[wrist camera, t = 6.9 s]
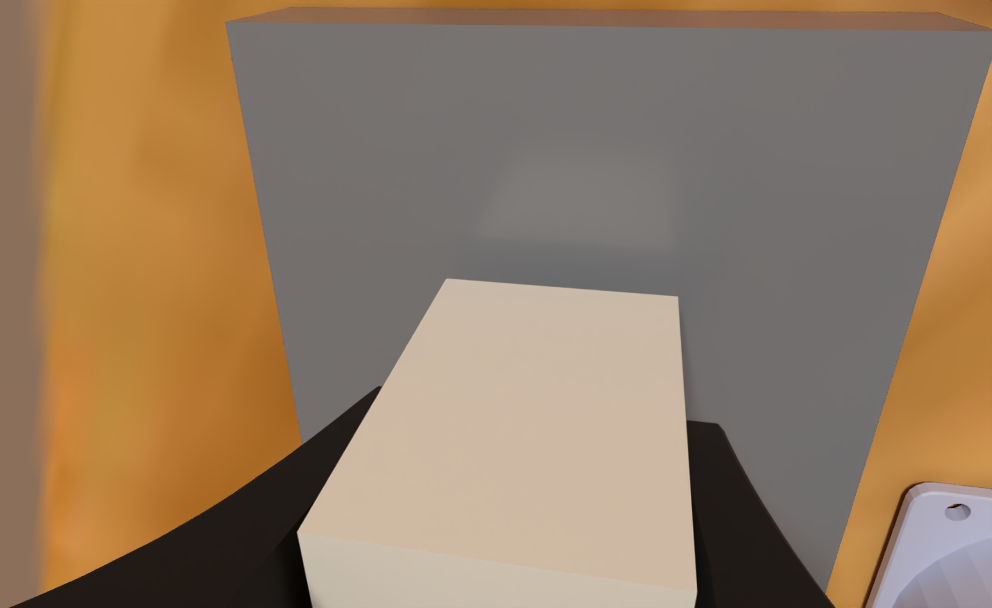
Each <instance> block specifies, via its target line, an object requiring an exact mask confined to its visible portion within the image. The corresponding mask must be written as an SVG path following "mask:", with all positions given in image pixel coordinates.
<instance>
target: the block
mask: <svg viewBox="0 0 992 608" xmlns="http://www.w3.org/2000/svg"><path fill="white" fill-rule="evenodd" d="M297 534H298V539H299V543H300V548H301V553H302V558H303V563H304V568H305V573H306V578H307V583H308V588H309V593H310V597H311V602H312V607H313V608H694V607H695V601H696V596H697V582H696V567H695V552H694V536H693V521H692V506H691V490H690V475H689V459H688V444H687V429H686V413H685V398H684V383H683V367H682V352H681V337H680V321H679V306H678V296H665V295H652V294H639V293H626V292H614V291H601V290H588V289H575V288H562V287H549V286H536V285H524V284H511V283H498V282H485V281H472V280H459V279H446V280H445V282H444V283H443V285H442V287H441V288H440V290H439V292H438V293H437V295H436V297H435V299H434V300H433V302H432V304H431V305H430V307H429V309H428V310H427V312H426V314H425V316H424V317H423V319H422V321H421V322H420V324H419V326H418V327H417V329H416V331H415V333H414V334H413V336H412V338H411V339H410V341H409V343H408V344H407V346H406V348H405V350H404V351H403V353H402V355H401V356H400V358H399V360H398V361H397V363H396V365H395V367H394V368H393V370H392V372H391V373H390V375H389V377H388V378H387V380H386V382H385V384H384V385H383V387H382V389H381V390H380V392H379V394H378V395H377V397H376V399H375V401H374V402H373V404H372V406H371V407H370V409H369V411H368V412H367V414H366V416H365V417H364V419H363V421H362V423H361V424H360V426H359V428H358V429H357V431H356V433H355V434H354V436H353V438H352V440H351V441H350V443H349V445H348V446H347V448H346V450H345V451H344V453H343V455H342V457H341V458H340V460H339V462H338V463H337V465H336V467H335V468H334V470H333V472H332V474H331V475H330V477H329V479H328V480H327V482H326V484H325V485H324V487H323V489H322V491H321V492H320V494H319V496H318V497H317V499H316V501H315V502H314V504H313V506H312V508H311V509H310V511H309V513H308V514H307V516H306V518H305V519H304V521H303V523H302V525H301V526H300V528H299V530H298V531H297Z"/></svg>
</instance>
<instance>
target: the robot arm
mask: <svg viewBox="0 0 992 608" xmlns="http://www.w3.org/2000/svg"><path fill="white" fill-rule="evenodd" d="M382 387H383V386H378V387H376V388H375V389H374V390H372V391H371V392H369V393H368V394H367V395H366V396H364V397H363V398H362V399H360V400H359V401H358V402H357V403H355V404H354V405H353V406H352V407H350V408H349V409H348V410H346V411H345V412H344V413H343V414H341V415H340V416H339V417H338V418H336V419H335V420H334V421H333V422H331V423H330V424H329V425H327V426H326V427H325V428H324V429H322V430H321V431H320V432H318V433H317V434H316V435H314V436H313V437H312V438H310V439H309V440H308V441H307V442H305V443H304V444H303V445H301V446H300V447H299V448H297V449H296V450H295V451H293V452H292V453H291V454H289V455H288V456H287V457H285V458H284V459H282V460H281V461H280V462H278V463H277V464H275V465H274V466H272V467H271V468H269V469H268V470H267V471H265V472H264V473H262V474H261V475H259V476H258V477H256V478H255V479H254V480H252V481H251V482H249V483H248V484H246V485H245V486H243V487H242V488H240V489H239V490H238V491H236V492H235V493H233V494H232V495H230V496H229V497H227V498H226V499H224V500H222V501H221V502H219V503H218V504H216V505H214V506H213V507H211V508H210V509H208V510H206V511H205V512H203V513H201V514H200V515H198V516H196V517H195V518H193V519H191V520H189V521H188V522H186V523H184V524H182V525H181V526H179V527H177V528H175V529H174V530H172V531H170V532H168V533H167V534H165V535H163V536H161V537H159V538H158V539H156V540H154V541H152V542H150V543H148V544H146V545H144V546H142V547H140V548H138V549H136V550H134V551H132V552H130V553H128V554H126V555H124V556H122V557H120V558H118V559H116V560H114V561H112V562H110V563H108V564H106V565H104V566H102V567H100V568H98V569H96V570H94V571H92V572H90V573H88V574H86V575H84V576H82V577H79V578H77V579H75V580H73V581H71V582H68V583H66V584H64V585H62V586H59V587H57V588H55V589H53V590H50V591H48V592H46V593H43V594H41V595H39V596H37V597H34V598H32V599H29V600H27V601H25V602H22V603H20V604H17V605H15V606H12V607H10V608H313V607H312V602H311V597H310V593H309V588H308V583H307V578H306V573H305V568H304V563H303V558H302V553H301V548H300V543H299V539H298V534H297V531H298V530H299V528H300V526H301V525H302V523H303V521H304V519H305V518H306V516H307V514H308V513H309V511H310V509H311V508H312V506H313V504H314V502H315V501H316V499H317V497H318V496H319V494H320V492H321V491H322V489H323V487H324V485H325V484H326V482H327V480H328V479H329V477H330V475H331V474H332V472H333V470H334V468H335V467H336V465H337V463H338V462H339V460H340V458H341V457H342V455H343V453H344V451H345V450H346V448H347V446H348V445H349V443H350V441H351V440H352V438H353V436H354V434H355V433H356V431H357V429H358V428H359V426H360V424H361V423H362V421H363V419H364V417H365V416H366V414H367V412H368V411H369V409H370V407H371V406H372V404H373V402H374V401H375V399H376V397H377V395H378V394H379V392H380V390H381V389H382ZM686 429H687V444H688V459H689V475H690V490H691V506H692V521H693V536H694V552H695V567H696V582H697V596H696V601H695V607H694V608H835V607H834V605H833V604H832V603H831V601H830V600H829V599H828V597H827V596H826V595H825V593H824V592H823V591H822V589H821V588H820V587H819V585H818V584H817V583H816V581H815V580H814V578H813V577H812V576H811V574H810V573H809V572H808V570H807V569H806V567H805V566H804V565H803V563H802V562H801V560H800V559H799V558H798V556H797V555H796V553H795V552H794V550H793V549H792V547H791V546H790V544H789V543H788V541H787V540H786V538H785V537H784V535H783V534H782V532H781V531H780V529H779V527H778V526H777V524H776V523H775V521H774V520H773V518H772V516H771V515H770V513H769V512H768V510H767V509H766V507H765V505H764V504H763V502H762V501H761V499H760V497H759V496H758V494H757V492H756V490H755V489H754V487H753V485H752V483H751V482H750V480H749V478H748V476H747V475H746V473H745V471H744V469H743V467H742V466H741V464H740V462H739V460H738V458H737V456H736V454H735V452H734V450H733V448H732V446H731V444H730V442H729V440H728V438H727V436H726V434H725V431H724V430H723V429H722V428H721V426H720V425H719V424H718V423H709V422H700V421H691V420H686ZM953 504H961V506H958V507H956V508H947V507H948V506H951V505H953ZM866 608H992V489H986V488H978V487H969V486H961V485H952V484H944V483H935V482H930V483H922V484H919V485H916V486H914V487H913V488H911V489H910V490H909V491H908V493H907V494H906V496H905V498H904V501H903V504H902V507H901V510H900V512H899V515H898V518H897V521H896V524H895V526H894V529H893V532H892V535H891V538H890V540H889V543H888V546H887V549H886V552H885V554H884V557H883V560H882V563H881V566H880V568H879V571H878V574H877V577H876V580H875V582H874V585H873V588H872V591H871V594H870V596H869V599H868V602H867V605H866Z"/></svg>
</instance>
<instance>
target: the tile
mask: <svg viewBox="0 0 992 608" xmlns="http://www.w3.org/2000/svg"><path fill="white" fill-rule="evenodd" d="M225 23H226V29H227V34H228V40H229V45H230V51H231V56H232V62H233V67H234V73H235V78H236V83H237V89H238V94H239V100H240V105H241V111H242V116H243V122H244V127H245V133H246V138H247V144H248V149H249V155H250V160H251V166H252V171H253V177H254V182H255V188H256V193H257V199H258V204H259V210H260V215H261V221H262V226H263V231H264V237H265V242H266V248H267V253H268V259H269V264H270V270H271V275H272V281H273V286H274V292H275V297H276V303H277V308H278V314H279V319H280V325H281V330H282V336H283V341H284V347H285V352H286V358H287V363H288V368H289V374H290V379H291V385H292V390H293V396H294V401H295V407H296V412H297V418H298V423H299V429H300V434H301V440H302V445H303V444H304V443H305V442H307V441H308V440H309V439H310V438H312V437H313V436H314V435H316V434H317V433H318V432H320V431H321V430H322V429H324V428H325V427H326V426H327V425H329V424H330V423H331V422H333V421H334V420H335V419H336V418H338V417H339V416H340V415H341V414H343V413H344V412H345V411H346V410H348V409H349V408H350V407H352V406H353V405H354V404H355V403H357V402H358V401H359V400H360V399H362V398H363V397H364V396H366V395H367V394H368V393H369V392H371V391H372V390H374V389H375V388H376V387H378V386H383V385H384V384H385V382H386V380H387V378H388V377H389V375H390V373H391V372H392V370H393V368H394V367H395V365H396V363H397V361H398V360H399V358H400V356H401V355H402V353H403V351H404V350H405V348H406V346H407V344H408V343H409V341H410V339H411V338H412V336H413V334H414V333H415V331H416V329H417V327H418V326H419V324H420V322H421V321H422V319H423V317H424V316H425V314H426V312H427V310H428V309H429V307H430V305H431V304H432V302H433V300H434V299H435V297H436V295H437V293H438V292H439V290H440V288H441V287H442V285H443V283H444V282H445V280H446V279H459V280H472V281H485V282H498V283H511V284H524V285H536V286H549V287H562V288H575V289H588V290H601V291H614V292H626V293H639V294H652V295H665V296H678V306H679V321H680V337H681V352H682V367H683V383H684V398H685V413H686V420H691V421H700V422H709V423H718V424H719V425H720V426H721V428H722V429H723V430H724V431H725V434H726V436H727V438H728V440H729V442H730V444H731V446H732V448H733V450H734V452H735V454H736V456H737V458H738V460H739V462H740V464H741V466H742V467H743V469H744V471H745V473H746V475H747V476H748V478H749V480H750V482H751V483H752V485H753V487H754V489H755V490H756V492H757V494H758V496H759V497H760V499H761V501H762V502H763V504H764V505H765V507H766V509H767V510H768V512H769V513H770V515H771V516H772V518H773V520H774V521H775V523H776V524H777V526H778V527H779V529H780V531H781V532H782V534H783V535H784V537H785V538H786V540H787V541H788V543H789V544H790V546H791V547H792V549H793V550H794V552H795V553H796V555H797V556H798V558H799V559H800V560H801V562H802V563H803V565H804V566H805V567H806V569H807V570H808V572H809V573H810V574H811V576H812V577H813V578H814V580H815V581H816V583H817V584H818V585H819V587H820V588H821V589H822V591H823V592H824V593H825V592H826V589H827V586H828V582H829V579H830V576H831V573H832V569H833V566H834V563H835V560H836V557H837V553H838V550H839V547H840V544H841V541H842V537H843V534H844V531H845V528H846V525H847V521H848V518H849V515H850V512H851V509H852V505H853V502H854V499H855V496H856V492H857V489H858V486H859V483H860V480H861V476H862V473H863V470H864V467H865V464H866V460H867V457H868V454H869V451H870V448H871V444H872V441H873V438H874V435H875V432H876V428H877V425H878V422H879V419H880V415H881V412H882V409H883V406H884V403H885V399H886V396H887V393H888V390H889V387H890V383H891V380H892V377H893V374H894V371H895V367H896V364H897V361H898V358H899V354H900V351H901V348H902V345H903V342H904V338H905V335H906V332H907V329H908V326H909V322H910V319H911V316H912V313H913V310H914V306H915V303H916V300H917V297H918V294H919V290H920V287H921V284H922V281H923V277H924V274H925V271H926V268H927V265H928V261H929V258H930V255H931V252H932V249H933V245H934V242H935V239H936V236H937V233H938V229H939V226H940V223H941V220H942V217H943V213H944V210H945V207H946V204H947V200H948V197H949V194H950V191H951V188H952V184H953V181H954V178H955V175H956V172H957V168H958V165H959V162H960V159H961V156H962V152H963V149H964V146H965V143H966V140H967V136H968V133H969V130H970V127H971V123H972V120H973V117H974V114H975V111H976V107H977V104H978V101H979V98H980V95H981V91H982V88H983V85H984V82H985V79H986V75H987V72H988V69H989V66H990V63H991V59H992V29H990V28H987V27H983V26H980V25H977V24H974V23H970V22H967V21H964V20H960V19H957V18H954V17H951V16H947V15H944V14H941V13H921V12H802V11H683V10H563V9H444V8H325V7H290V8H285V9H281V10H276V11H272V12H267V13H263V14H258V15H254V16H249V17H245V18H240V19H236V20H231V21H227V22H225Z"/></svg>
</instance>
